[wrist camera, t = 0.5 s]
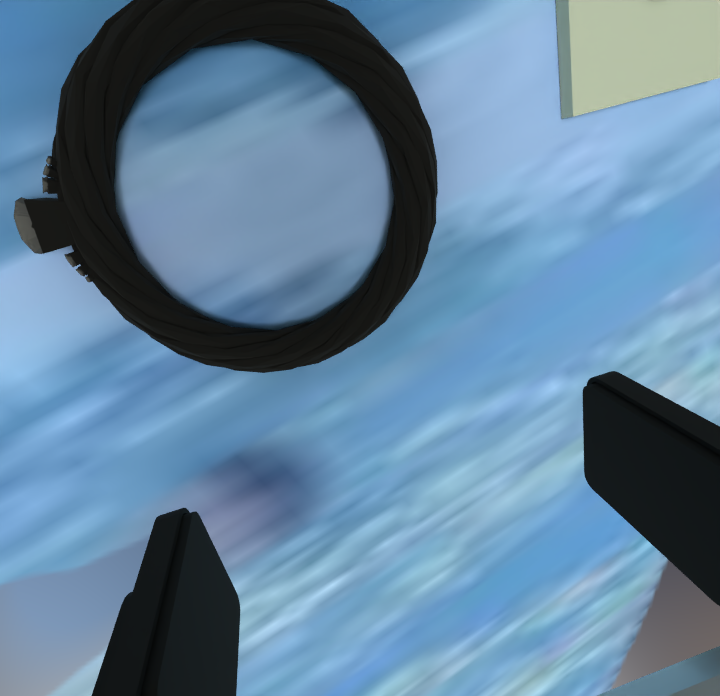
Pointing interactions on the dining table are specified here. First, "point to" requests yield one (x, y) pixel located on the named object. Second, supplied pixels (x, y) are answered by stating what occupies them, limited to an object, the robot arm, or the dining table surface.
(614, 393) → the robot arm
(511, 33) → the dining table surface
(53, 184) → the cable lock
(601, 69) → the keeper board
